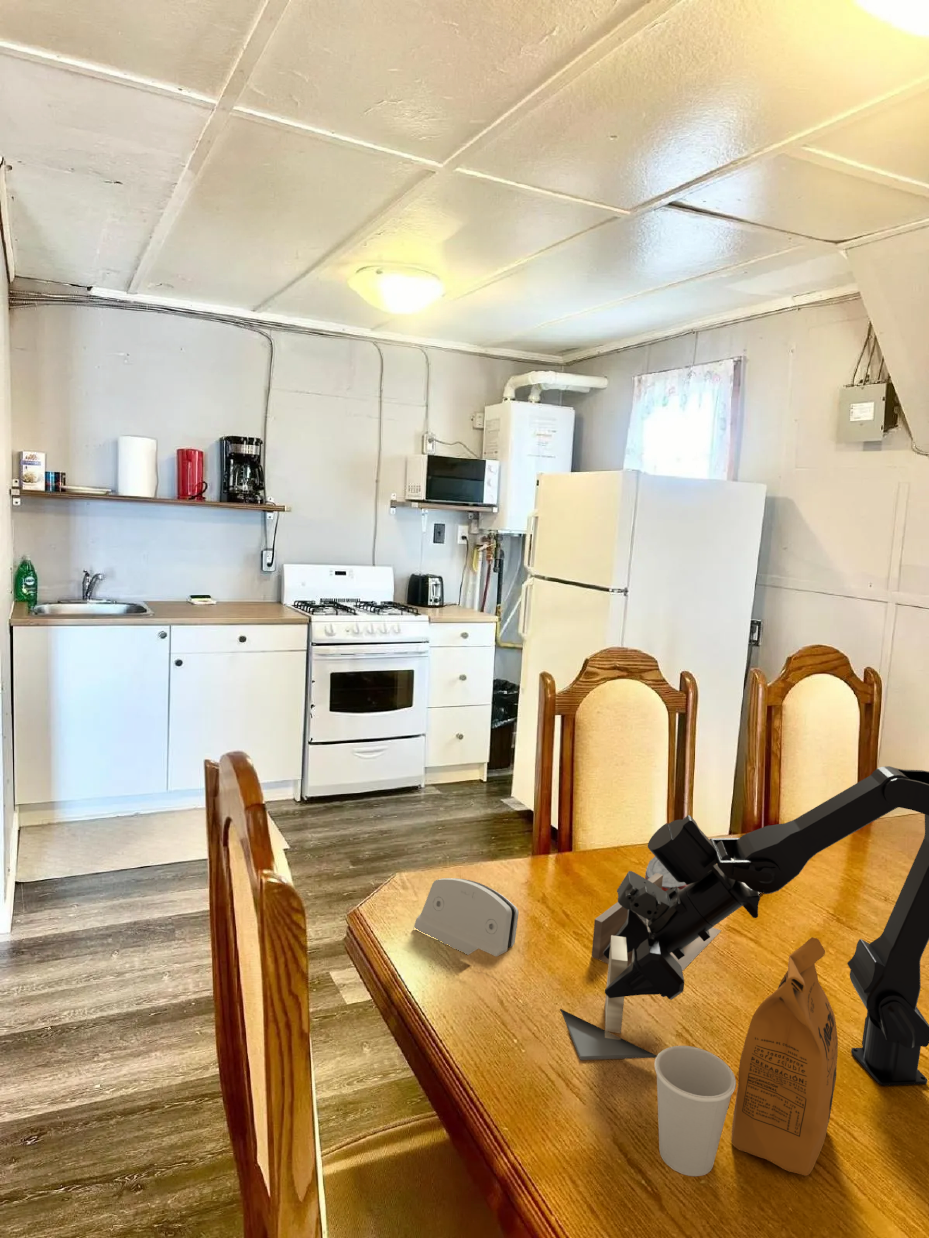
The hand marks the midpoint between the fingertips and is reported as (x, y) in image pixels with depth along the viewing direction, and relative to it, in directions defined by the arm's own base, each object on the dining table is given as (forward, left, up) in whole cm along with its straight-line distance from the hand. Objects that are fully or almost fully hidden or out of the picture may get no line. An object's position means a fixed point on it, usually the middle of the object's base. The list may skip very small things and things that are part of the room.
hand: (605, 974), depth 107 cm
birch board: (0, -1, -7) cm, 7 cm away
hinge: (+23, +15, -8) cm, 29 cm away
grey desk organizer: (+18, -14, -8) cm, 24 cm away
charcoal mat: (0, -1, -8) cm, 8 cm away
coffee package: (-20, -15, -8) cm, 26 cm away
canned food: (+38, -25, -8) cm, 46 cm away
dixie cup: (-22, -3, -8) cm, 23 cm away
